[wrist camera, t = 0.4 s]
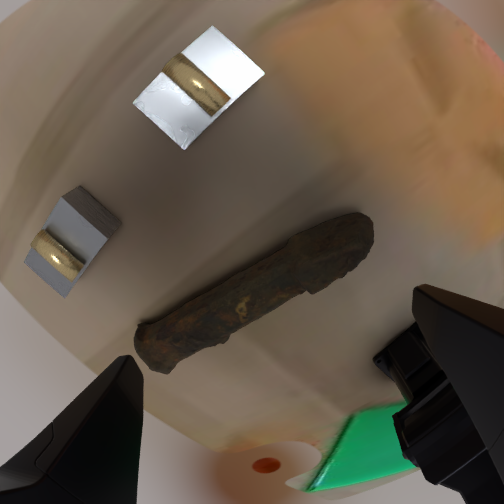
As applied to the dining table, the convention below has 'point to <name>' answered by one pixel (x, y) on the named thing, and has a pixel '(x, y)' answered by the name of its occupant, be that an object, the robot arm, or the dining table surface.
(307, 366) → the dining table surface
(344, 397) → the dining table surface
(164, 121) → the end link
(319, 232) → the hand tool
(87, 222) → the end link
